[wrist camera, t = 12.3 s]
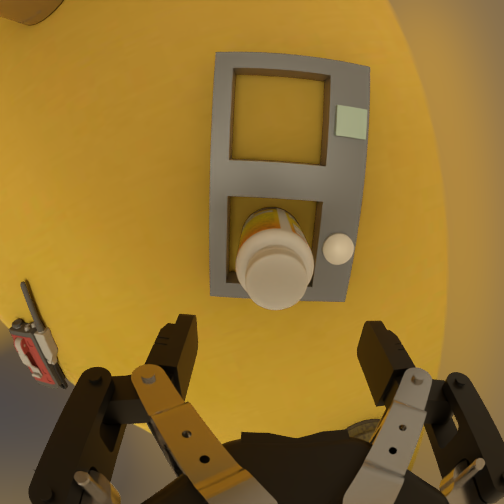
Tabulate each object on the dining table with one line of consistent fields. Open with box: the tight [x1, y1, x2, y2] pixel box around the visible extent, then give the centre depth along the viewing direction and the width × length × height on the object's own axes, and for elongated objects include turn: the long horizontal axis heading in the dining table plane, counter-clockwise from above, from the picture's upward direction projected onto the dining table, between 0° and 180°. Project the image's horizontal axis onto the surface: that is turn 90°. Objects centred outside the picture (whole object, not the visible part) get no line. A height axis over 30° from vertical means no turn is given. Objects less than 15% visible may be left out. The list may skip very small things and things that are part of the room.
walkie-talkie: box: [9, 281, 68, 389], centre depth 33 cm, size 9×4×20 cm
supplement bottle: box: [236, 207, 314, 310], centre depth 23 cm, size 6×6×10 cm
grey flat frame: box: [209, 52, 370, 302], centre depth 24 cm, size 22×13×3 cm, turn 177°
